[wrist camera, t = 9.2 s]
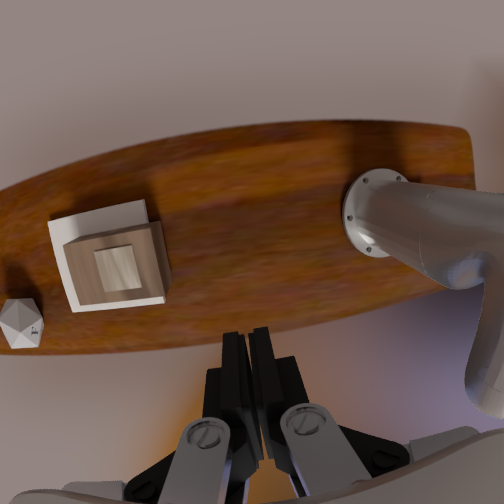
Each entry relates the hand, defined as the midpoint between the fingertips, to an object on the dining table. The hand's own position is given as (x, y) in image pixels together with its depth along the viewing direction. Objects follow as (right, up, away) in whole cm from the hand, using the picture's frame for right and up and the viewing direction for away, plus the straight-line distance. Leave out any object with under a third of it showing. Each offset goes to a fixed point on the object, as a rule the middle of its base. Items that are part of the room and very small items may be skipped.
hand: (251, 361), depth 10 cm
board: (-20, +3, +26) cm, 33 cm away
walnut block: (-11, +4, +23) cm, 25 cm away
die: (-37, -6, +27) cm, 46 cm away
